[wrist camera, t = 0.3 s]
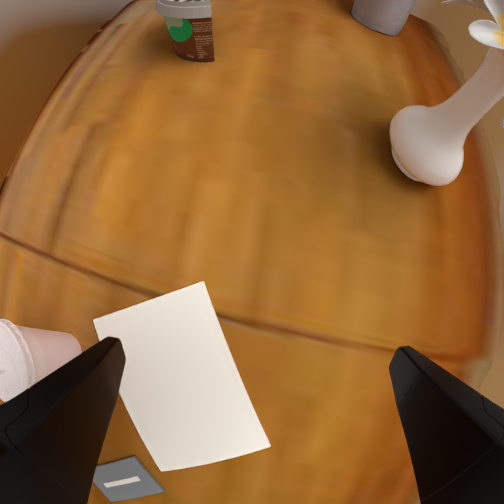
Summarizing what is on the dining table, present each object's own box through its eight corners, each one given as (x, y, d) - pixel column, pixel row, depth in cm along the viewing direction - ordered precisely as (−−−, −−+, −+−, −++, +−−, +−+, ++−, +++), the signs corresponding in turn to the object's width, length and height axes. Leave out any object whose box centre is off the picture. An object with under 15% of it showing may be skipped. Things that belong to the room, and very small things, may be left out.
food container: (167, 29, 29) (156, -21, 19) (208, 22, 30) (204, -30, 20) (165, 77, 27) (147, 13, 17) (215, 68, 27) (210, 2, 18)
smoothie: (84, 394, 20) (-14, 441, 6) (39, 359, 20) (-61, 376, 7) (101, 339, 21) (-13, 359, 8) (54, 306, 22) (-56, 296, 8)
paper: (270, 444, 20) (270, 446, 20) (161, 469, 19) (160, 471, 19) (203, 281, 23) (203, 280, 22) (94, 319, 22) (92, 319, 21)
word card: (165, 489, 19) (163, 492, 18) (112, 500, 18) (111, 502, 17) (135, 455, 19) (133, 457, 19) (85, 468, 18) (83, 470, 18)
